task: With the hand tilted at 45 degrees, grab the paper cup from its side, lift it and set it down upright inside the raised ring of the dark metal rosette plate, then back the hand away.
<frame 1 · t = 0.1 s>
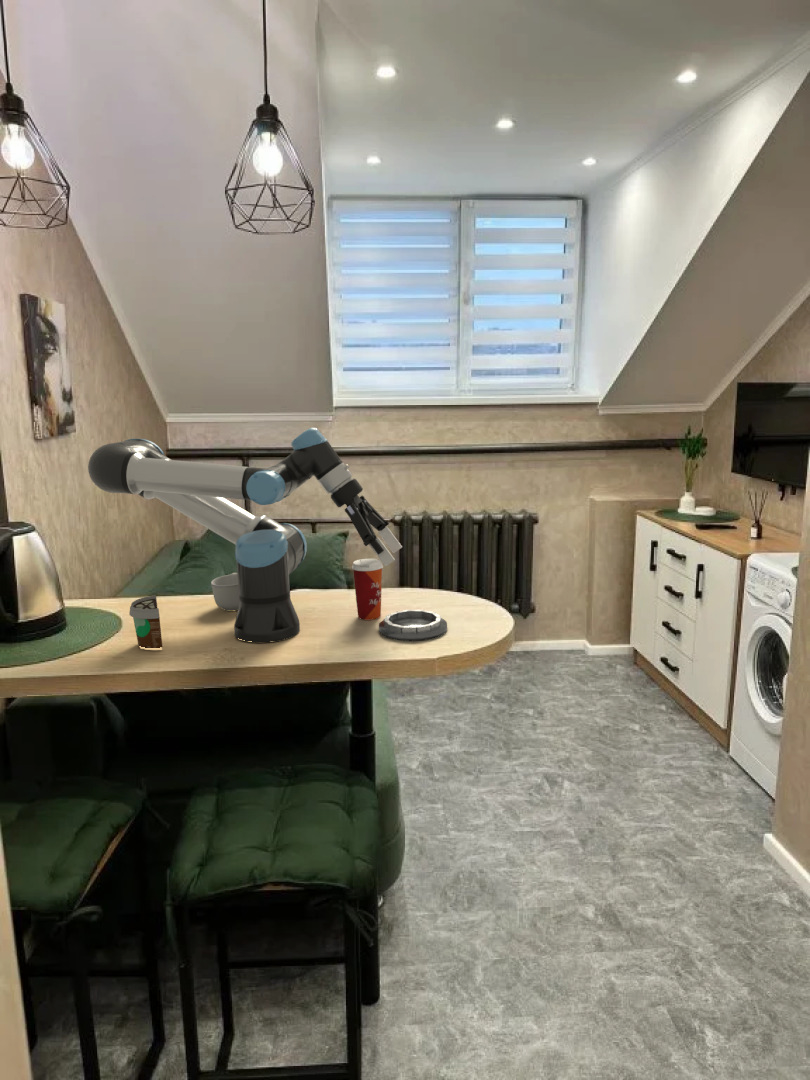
hand: (394, 556, 182), 15 cm above the counter, tool tilted 35°, fingers open, 13 cm apart
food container: (147, 646, 171), on the counter
rosette plate: (413, 629, 176), on the counter
paper cup: (369, 617, 186), on the counter
teacup: (236, 606, 198), on the counter
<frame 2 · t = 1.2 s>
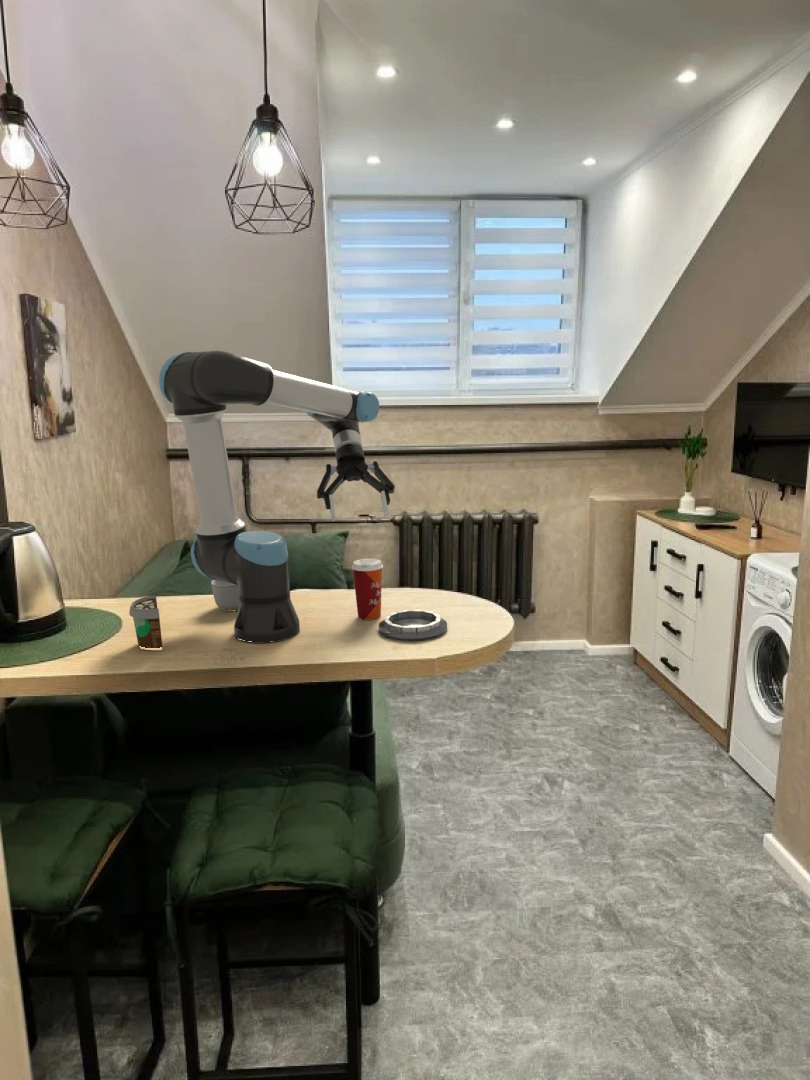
hand: (360, 516, 191), 23 cm above the counter, tool tilted 45°, fingers open, 13 cm apart
nothing on the counter moved.
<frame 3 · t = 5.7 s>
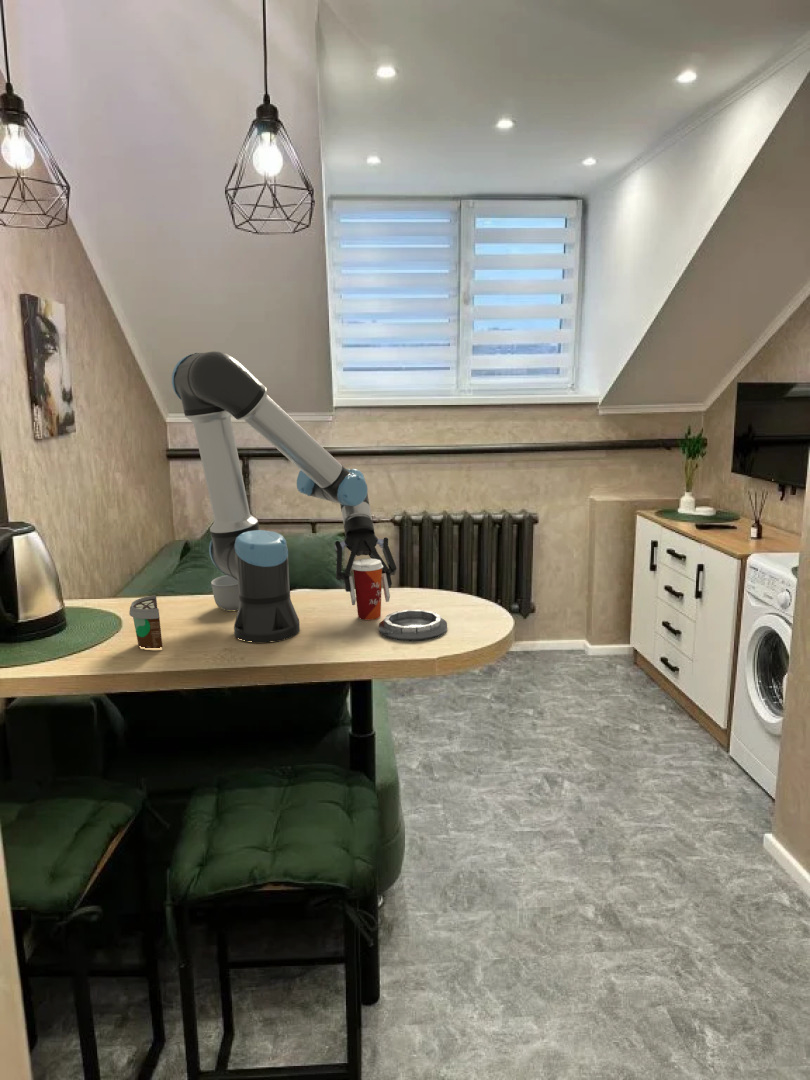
hand: (371, 600, 182), 5 cm above the counter, tool tilted 45°, fingers closed on paper cup, 8 cm apart
paper cup: (369, 617, 186), on the counter, touching gripper
everything else where it was.
when the fingers open (8 cm above the counter, at t = 11.1 s): paper cup drops 2 cm, resting on rosette plate.
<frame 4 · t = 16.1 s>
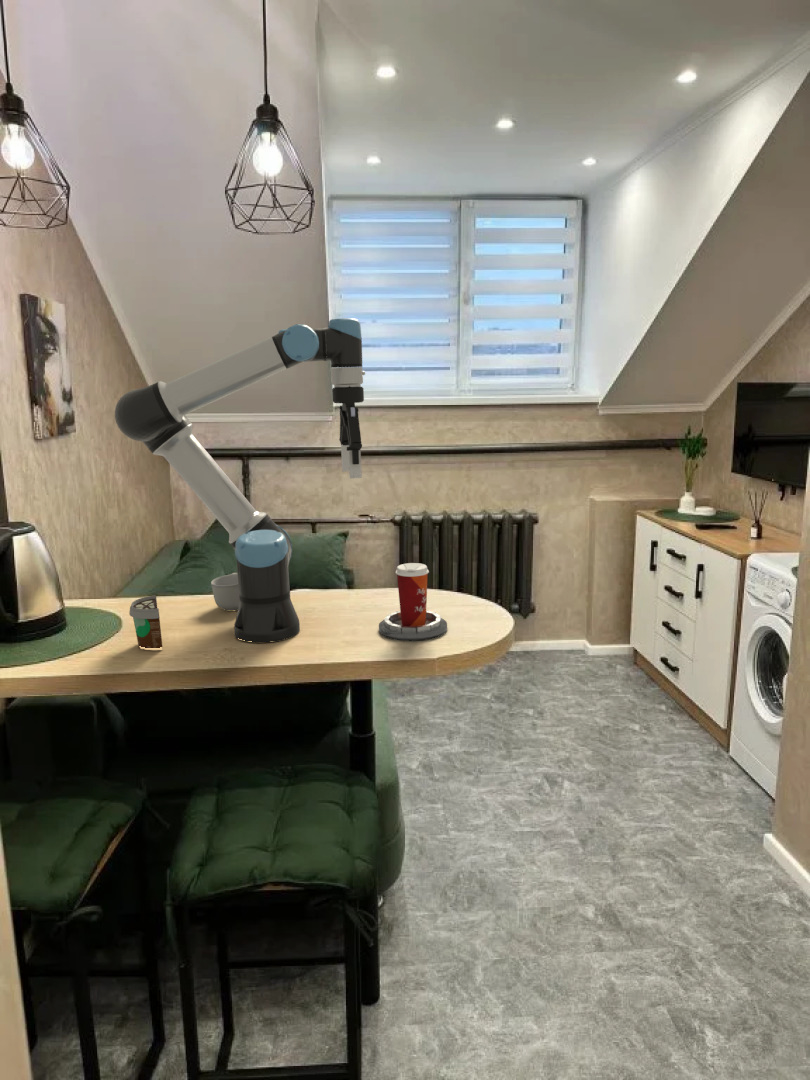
hand: (351, 474, 184), 35 cm above the counter, tool pointing down, fingers open, 13 cm apart
paper cup: (413, 625, 176), point 1 cm above the counter, touching rosette plate
everything else where it was.
at the end: paper cup 0.2 cm off-centre on the rosette plate, point 1.0 cm above the rosette plate's base; paper cup tilted 0°; the gripper is holding nothing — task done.
